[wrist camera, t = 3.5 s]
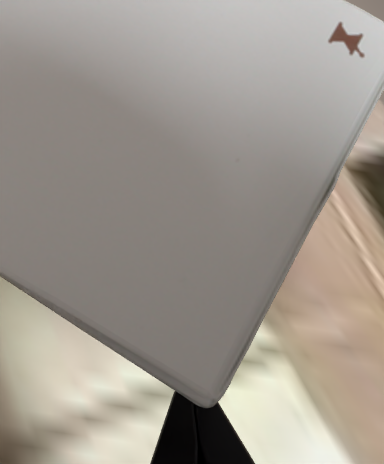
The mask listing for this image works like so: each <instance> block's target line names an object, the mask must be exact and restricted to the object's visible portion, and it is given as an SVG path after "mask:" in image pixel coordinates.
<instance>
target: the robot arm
mask: <svg viewBox="0 0 384 464" xmlns="http://www.w3.org/2000/svg"><path fill="white" fill-rule="evenodd" d="M150 464H255V463H254V461H253V459H252V458H251V456H250V454H249V453H248V451H247V449H246V448H245V446H244V444H243V443H242V441H241V440H240V438H239V436H238V435H237V433H236V431H235V430H234V428H233V426H232V425H231V423H230V421H229V420H228V418H227V416H226V415H225V413H224V411H223V410H222V408H221V406H220V405H219V403H218V402H217V403H216V404H215V405H214V406H213V407H210V408H203V407H200V406H198V405H196V404H195V403H193V402H192V401H190V400H189V399H187V398H186V397H184V396H183V395H181V394H180V393H178V392H177V391H175V392H174V394H173V397H172V400H171V403H170V406H169V409H168V412H167V415H166V418H165V421H164V424H163V427H162V430H161V433H160V436H159V439H158V442H157V445H156V448H155V451H154V454H153V457H152V460H151V463H150Z"/></svg>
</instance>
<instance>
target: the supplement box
mask: <svg viewBox="0 0 384 464" xmlns="http://www.w3.org/2000/svg"><path fill="white" fill-rule="evenodd" d="M383 90H384V22H383V21H381V20H380V19H378V18H376V17H374V16H373V15H371V14H369V13H367V12H366V11H364V10H362V9H360V8H358V7H356V6H355V5H353V4H351V3H349V2H347V1H345V0H0V276H1V277H2V278H4V279H5V280H7V281H8V282H10V283H11V284H13V285H14V286H16V287H17V288H19V289H20V290H22V291H24V292H25V293H27V294H28V295H30V296H31V297H33V298H34V299H36V300H37V301H39V302H40V303H42V304H43V305H45V306H46V307H48V308H49V309H51V310H52V311H54V312H55V313H57V314H58V315H60V316H62V317H63V318H65V319H66V320H68V321H69V322H71V323H72V324H74V325H75V326H77V327H78V328H80V329H81V330H83V331H84V332H86V333H87V334H89V335H91V336H92V337H94V338H95V339H97V340H98V341H100V342H101V343H103V344H104V345H106V346H107V347H109V348H111V349H112V350H114V351H115V352H117V353H118V354H120V355H121V356H123V357H124V358H126V359H127V360H129V361H131V362H132V363H134V364H135V365H137V366H138V367H140V368H141V369H143V370H144V371H146V372H147V373H149V374H150V375H152V376H154V377H155V378H157V379H158V380H160V381H161V382H163V383H164V384H166V385H167V386H169V387H170V388H172V389H174V390H175V391H177V392H178V393H180V394H181V395H183V396H184V397H186V398H187V399H189V400H190V401H192V402H193V403H195V404H196V405H198V406H200V407H203V408H210V407H213V406H214V405H215V404H216V403H217V402H218V401H219V400H220V399H221V398H222V396H223V395H224V393H225V392H226V390H227V388H228V387H229V385H230V383H231V381H232V378H233V376H234V374H235V372H236V371H237V369H238V367H239V365H240V363H241V361H242V360H243V358H244V356H245V354H246V352H247V351H248V349H249V347H250V345H251V343H252V341H253V339H254V337H255V335H256V333H257V331H258V329H259V327H260V325H261V323H262V321H263V319H264V317H265V315H266V313H267V311H268V309H269V307H270V306H271V304H272V302H273V300H274V298H275V296H276V294H277V292H278V290H279V288H280V286H281V285H282V283H283V281H284V279H285V277H286V275H287V273H288V271H289V269H290V267H291V265H292V264H293V262H294V260H295V258H296V256H297V254H298V252H299V250H300V248H301V246H302V245H303V243H304V241H305V239H306V237H307V235H308V233H309V231H310V229H311V227H312V226H313V224H314V222H315V220H316V218H317V217H318V215H319V213H320V212H321V210H322V208H323V207H324V205H325V203H326V201H327V200H328V198H329V196H330V194H331V192H332V191H333V189H334V187H335V185H336V182H337V180H338V177H339V174H340V172H341V170H342V168H343V166H344V164H345V162H346V160H347V158H348V156H349V154H350V152H351V150H352V148H353V147H354V145H355V143H356V141H357V139H358V137H359V135H360V133H361V131H362V129H363V127H364V126H365V124H366V122H367V120H368V118H369V116H370V114H371V113H372V111H373V109H374V107H375V105H376V103H377V101H378V100H379V98H380V96H381V94H382V92H383Z"/></svg>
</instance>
